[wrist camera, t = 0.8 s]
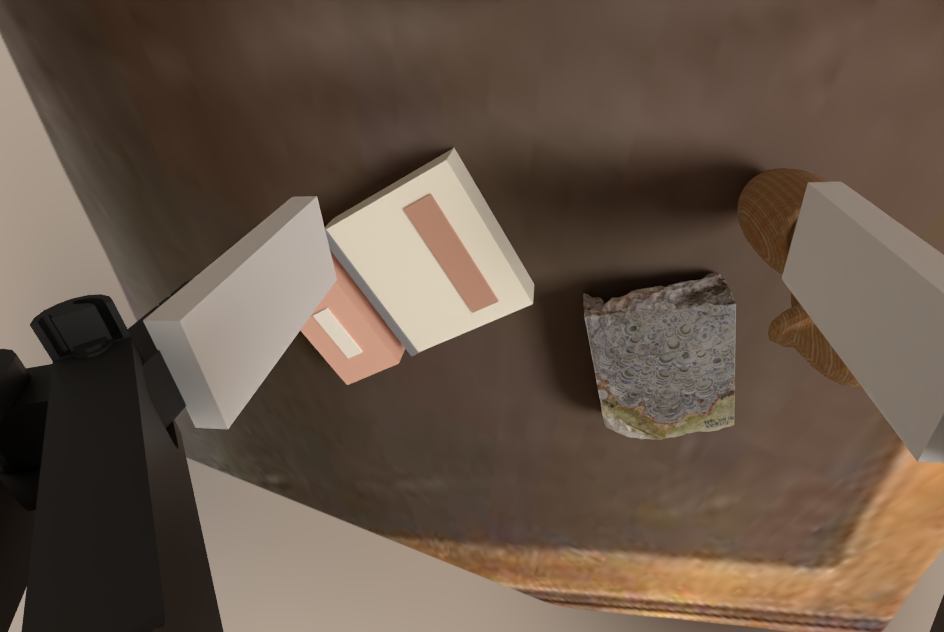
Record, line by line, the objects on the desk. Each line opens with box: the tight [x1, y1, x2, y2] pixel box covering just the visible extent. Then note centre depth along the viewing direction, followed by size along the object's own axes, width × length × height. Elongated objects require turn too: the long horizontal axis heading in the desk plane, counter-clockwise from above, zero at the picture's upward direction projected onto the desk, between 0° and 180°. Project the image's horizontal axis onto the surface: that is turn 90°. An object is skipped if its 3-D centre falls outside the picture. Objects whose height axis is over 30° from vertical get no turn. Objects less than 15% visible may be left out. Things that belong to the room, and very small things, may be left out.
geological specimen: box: [583, 273, 736, 439], centre depth 44 cm, size 11×6×15 cm
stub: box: [300, 250, 405, 385], centre depth 46 cm, size 13×6×4 cm, turn 31°
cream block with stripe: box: [325, 148, 534, 356], centre depth 42 cm, size 13×12×3 cm
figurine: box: [738, 168, 864, 390], centre depth 29 cm, size 9×7×20 cm
